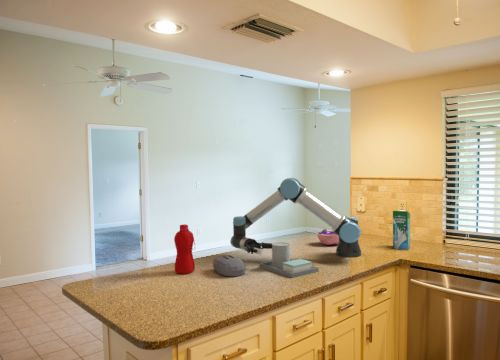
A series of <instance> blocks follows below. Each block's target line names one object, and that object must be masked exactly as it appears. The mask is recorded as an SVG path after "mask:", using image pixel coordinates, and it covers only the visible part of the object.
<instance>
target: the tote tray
mask: <svg viewBox="0 0 500 360" xmlns="http://www.w3.org/2000/svg"><path fill="white" fill-rule="evenodd" d="M290 261H293V260H292V259H290ZM258 266H259V268H261V269H264V270H267V271H268V272H273V273H276V274H278V275H282V276H284V277H288V278H290V279H293V278H297V277H302V276H306V275H310V274H315V273H318V272H319V267H318V266H314V265H311V268H312V269H307V270H303V271H299V272H294V273H291V272H287V271H284V270H283V269H278V268H275V267H272V260H269V261H266V262H265V261H264V262H260V263H259V265H258Z"/></svg>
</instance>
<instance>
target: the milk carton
mask: <svg viewBox="0 0 500 360" xmlns="http://www.w3.org/2000/svg"><path fill="white" fill-rule="evenodd" d="M392 248H393V249H395V250H403V251H404V250H406V251H407V250H409V249H411V213H410V211H406V210H405V209H399V210H392Z"/></svg>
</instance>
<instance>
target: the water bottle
mask: <svg viewBox="0 0 500 360" xmlns="http://www.w3.org/2000/svg"><path fill="white" fill-rule="evenodd" d="M173 240H174V245H175V249H176V256H175V263H174V272H175V273H176V274H181V275H189V274H191V273H193V272H194V271H195V267H196V266H195V259H194V254H193V251H195V250H196V248H194V249H193V246H194V245H196V243H195V237H194V233H193V232H192V231H190V228H189V225H188V224H180V225H179V231H177V232H176V233H175V235H174V239H173Z"/></svg>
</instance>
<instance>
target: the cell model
mask: <svg viewBox="0 0 500 360" xmlns="http://www.w3.org/2000/svg"><path fill="white" fill-rule="evenodd" d="M315 235H316V236H317V239H318V240H319V242H320V244H322V245H324V246H325V245H326V246H333V245H338V242H339V236H338V235H337V234H335V233H334V232H333V230H327V228H324V229H322V230H321V231H317V232H315Z"/></svg>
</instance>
